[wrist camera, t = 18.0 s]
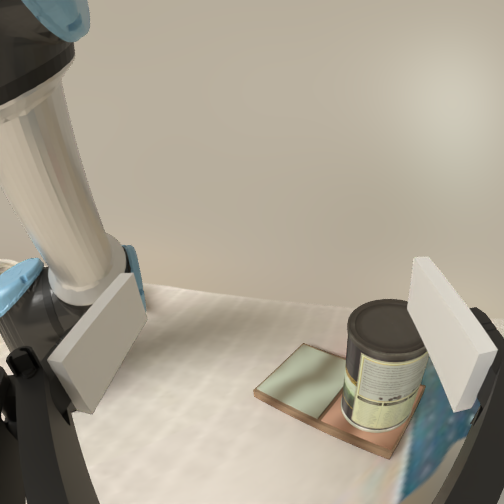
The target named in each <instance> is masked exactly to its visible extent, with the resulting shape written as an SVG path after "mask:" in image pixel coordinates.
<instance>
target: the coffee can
mask: <svg viewBox="0 0 504 504" xmlns="http://www.w3.org/2000/svg"><path fill="white" fill-rule="evenodd" d="M407 305H408V302H407V301H403V300H397V299H382V300H375V301H371V302H368V303H365V304H363V305H361V306H360V307H358V308H357V309H355V310H354V311H353V312H352V313H351V315H350V317H349V319H348V324H347V329H348V341H347V353H346V365H345V374H344V384H343V393H342V399H341V411H342V413H343V416H344V417H345V419H346V420H347V421H348V422H349V423H350V424H351V425H352V426H354V427H356V428H357V429H360V430H362V431H366V432H371V433H382V432H388V431H391V430H394V429H396V428H398V427H399V426H401V425H402V424H403V423H404V422H405V421H406V420H407V419H408V418H409V416H410V414H411V411H412V407H413V404H414V401H415V398H416V395H417V393H418V390H419V387H420V384H421V381H422V378H423V374H424V371H425V368H426V364H427V361H428V358H429V353H428V351H427V349H426V347H425V345H424V343H423V341H422V338H421V336H420V334H419V332H418V330H417V328H416V326H415V324H414V322H413V320H412V318H411V316H410V314H409V312H408V310H407Z"/></svg>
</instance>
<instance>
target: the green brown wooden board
mask: <svg viewBox="0 0 504 504" xmlns="http://www.w3.org/2000/svg"><path fill="white" fill-rule="evenodd" d="M345 365H346V359H345V358H342V357H339V356H337V355H334V354H331V353H329V352H326V351H323V350H321V349H318V348H315V347H313V346H310V345H307V344H305V343H303V344H302V345H301V346H300V347H299V348H298V349H297V350H296V351H295V352H294V353H293V354H292V355H291V356H289V357H288V358H287V359H286V360H285V361H284V362H283V363H282V364H281V365H280V366H279V367H278V368H277V369H276V370H275V371H274V372H273V373H272V374H270V375H269V376H268V377H267V378H266V379H265V380H264V381H263V382H262V383H261V384H260V385H258V386H257V387H256V388H255V389H254V390H253V392H254V397H256V398H258V399H260V400H261V401H263V402H265V403H267V404H269V405H271V406H273V407H275V408H276V409H278V410H280V411H282V412H284V413H286V414H288V415H290V416H292V417H294V418H296V419H298V420H300V421H302V422H304V423H306V424H308V425H310V426H312V427H314V428H317V429H319V430H321V431H323V432H325V433H327V434H330V435H332V436H334V437H336V438H338V439H341V440H343V441H345V442H347V443H350V444H352V445H354V446H357V447H359V448H362V449H364V450H366V451H369V452H371V453H374V454H376V455H379V456H381V457H384V458H387V459H390V457H391V456H392V454H393V452H394V450H395V448H396V447H397V445H398V443H399V441H400V439H401V438H402V436H403V434H404V432H405V430H406V428H407V426H408V424H409V422H410V420H411V418H412V416H413V414H414V412H415V410H416V408H417V406H418V404H419V401H420V399H421V397H422V395H423V393H424V390H425V387H426V386H425V385H421V384H420V387H419V390H418V393H417V395H416V398H415V401H414V404H413V407H412V411H411V414H410V416H409V418H408V419H407V420H406V421H405V422H404V423H403V424H402V425H401V426H399V427H398V428H396V429H394V430H391V431H388V432H382V433H371V432H366V431H362V430H360V429H357V428H356V427H354V426H352V425H351V424H350V423H349V422H348V421H347V420H346V419H345V417H344V416H343V413H342V411H341V399H342V393H343V384H344V374H345Z"/></svg>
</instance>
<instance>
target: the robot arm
mask: <svg viewBox="0 0 504 504" xmlns="http://www.w3.org/2000/svg"><path fill="white" fill-rule="evenodd" d="M89 28H90V14H89V7H88V2H87V0H0V186H1V188H2V190H3V192H4V194H5V196H6V198H7V200H8V201H9V203H10V205H11V206H12V209H13V210H14V212H15V214H16V215H17V217H18V219H19V221H20V222H21V224H22V226H23V227H24V229H25V231H26V232H27V233H28V236H29V237H30V239H31V240H32V242H33V243H34V245H35V247H36V248H37V250H38V251H39V253H40V254H41V256H42V257H43V259H44V260H45V262H46V263H47V265H48V266H49V267H44V263H43V262H42V261H41V260H40V259H39V258H31V259H27V260H25V261H23V262H20V263H18V264H16V265H15V266H13V267H11V268H10V269H8V270H7V271H5V272H4V273H2V274H1V275H0V334H1V336H2V338H3V340H4V342H5V343H6V345H7V347H8V349H9V351H10V352H11V353H10V354H9V355H8V357H7V359H6V362H7V364H8V366H9V367H10V369H11V371H12V372H13V374H14V375H7V374H6V372H5V370H4V369H3V367H1V366H0V504H25V503H26V500H27V504H100V503H99V501H98V498H97V495H96V493H95V490H94V487H93V485H92V482H91V479H90V476H89V473H88V470H87V467H86V464H85V461H84V458H83V454H82V451H81V448H80V444H79V441H78V437H77V434H76V430H75V426H74V422H73V418H72V414H71V412H73V411H75V410H77V411H80V412H84V413H88V414H93V413H94V411H95V409H96V407H97V406H98V404H99V402H100V400H101V398H102V397H103V395H104V393H105V391H106V389H107V388H108V386H109V384H110V382H111V381H112V379H113V377H114V375H115V374H116V372H117V370H118V369H119V367H120V365H121V363H122V362H123V360H124V358H125V357H126V355H127V353H128V351H129V350H130V348H131V346H132V345H133V343H134V341H135V340H136V338H137V336H138V335H139V333H140V331H141V330H142V328H143V326H144V325H145V323H146V321H147V320H148V319H147V316H146V302H145V295H144V291H143V285H142V278H141V273H140V268H139V263H138V259H137V255H136V251H135V249H134V247H133V246H131V245H127V246H126V245H121V244H120V242H119V241H118V240H117V239H115V238H114V237H113V236H112V235H110V234H108V233H105V230H104V228H103V225H102V222H101V219H100V217H99V214H98V211H97V208H96V205H95V202H94V199H93V196H92V193H91V190H90V188H89V184H88V181H87V178H86V174H85V171H84V168H83V165H82V161H81V158H80V154H79V151H78V147H77V143H76V140H75V136H74V132H73V128H72V125H71V121H70V117H69V113H68V108H67V105H66V100H65V95H64V91H63V86H62V77H63V76H64V74H65V73H66V71H67V70H68V69H69V67H70V66H71V64H72V63H73V61H74V59H75V50H74V42H76V41H78V40H79V39H80V38H81V37H83V36H85V35H86V34H87V33H88V31H89ZM407 310H408V312H409V314H410V316H411V318H412V320H413V322H414V324H415V326H416V328H417V330H418V332H419V334H420V336H421V338H422V341H423V343H424V345H425V347H426V349H427V351H428V353H429V356H430V358H431V360H432V362H433V365H434V367H435V369H436V371H437V374H438V376H439V378H440V381H441V383H442V385H443V388H444V390H445V392H446V395H447V397H448V400H449V402H450V405H451V407H452V410H453V412H458V411H462V410H466V409H470V408H472V406H473V404H474V402H475V400H476V398H478V400H479V402H480V404H481V405H480V407H479V409H478V411H477V413H476V415H475V416H474V418H473V420H472V422H471V423H470V424H472V426H471V428H470V431H469V433H468V435H467V437H466V440H465V442H464V444H463V446H462V448H461V450H460V453H459V455H458V457H457V459H456V461H455V463H454V465H453V467H452V469H451V471H450V473H449V474H448V476H447V478H446V480H445V482H444V484H443V485H442V487H441V489H440V491H439V492H438V494H437V496H436V497H435V499H434V501H433V502H432V504H497V502H498V500H499V498H500V495H501V493H502V490H503V488H504V338H503V337H502V335H501V334H500V333H499V331H498V330H496V327H495V326H494V324H493V323H492V322H491V320H490V319H489V318H488V316H487V315H486V314H485V313H484V312H482V311H481V310H479V309H478V308H477V307H474V308H468V306H467V305H466V304H465V302H464V301H463V300H462V298H461V297H460V296H459V294H458V293H457V292H456V290H455V289H454V288H453V287H452V285H451V284H450V283H449V281H448V280H447V279H446V278H445V276H444V275H443V274H442V273H441V271H440V270H439V269H438V268H437V266H436V265H435V264H434V263H433V261H432V260H431V259H430V258H429V257H415V258H414V259H413V268H412V277H411V284H410V291H409V298H408V305H407ZM1 412H2V413H3V414H4V416H5V421H3V420H2V419H1Z"/></svg>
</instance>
